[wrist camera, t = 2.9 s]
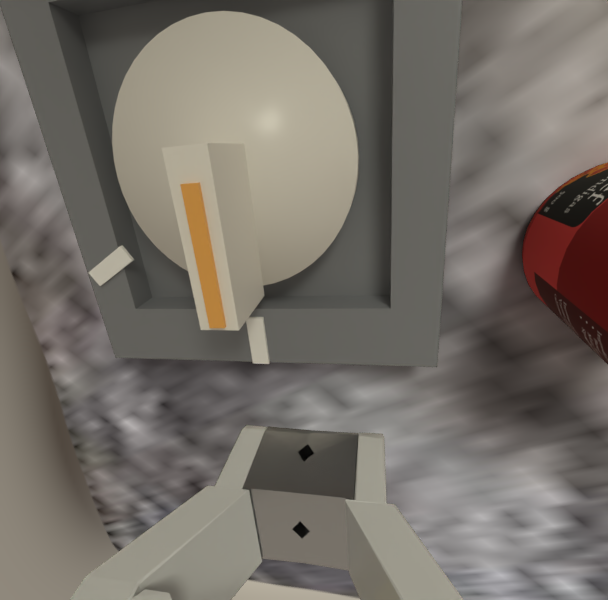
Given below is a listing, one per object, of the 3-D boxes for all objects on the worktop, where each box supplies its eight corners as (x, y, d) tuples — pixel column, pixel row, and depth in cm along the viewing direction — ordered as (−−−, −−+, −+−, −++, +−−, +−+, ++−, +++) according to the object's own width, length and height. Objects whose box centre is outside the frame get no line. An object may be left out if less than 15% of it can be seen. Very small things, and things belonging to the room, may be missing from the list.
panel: (30, -55, 18) (-36, -93, 15) (458, -158, 14) (479, -236, 11) (142, 335, 26) (113, 359, 23) (429, 339, 22) (437, 369, 20)
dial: (109, 45, 18) (-14, 0, 12) (356, 4, 15) (345, -76, 10) (167, 284, 22) (98, 331, 17) (362, 281, 20) (357, 334, 15)
